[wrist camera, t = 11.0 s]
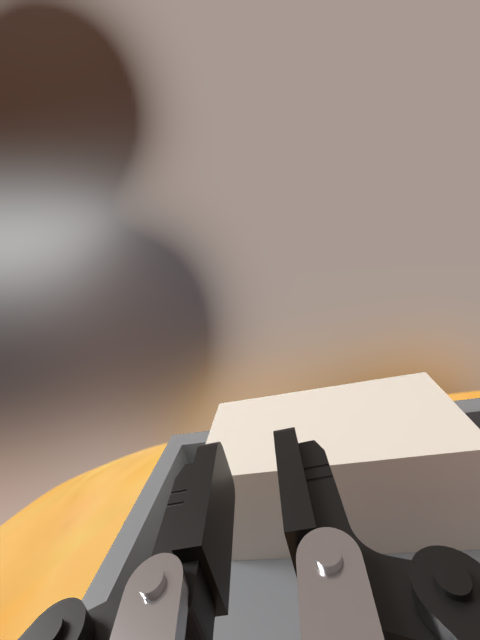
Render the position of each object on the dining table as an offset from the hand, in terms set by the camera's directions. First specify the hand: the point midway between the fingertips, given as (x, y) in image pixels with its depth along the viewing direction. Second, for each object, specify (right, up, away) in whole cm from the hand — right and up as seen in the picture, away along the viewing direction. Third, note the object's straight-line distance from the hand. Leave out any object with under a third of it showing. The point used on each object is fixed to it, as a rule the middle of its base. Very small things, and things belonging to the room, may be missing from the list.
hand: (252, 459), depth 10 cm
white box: (+5, -5, +6) cm, 9 cm away
